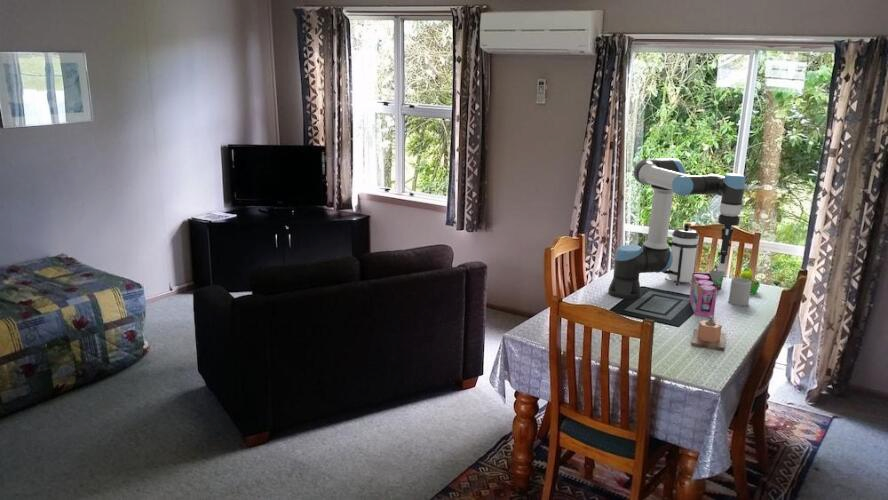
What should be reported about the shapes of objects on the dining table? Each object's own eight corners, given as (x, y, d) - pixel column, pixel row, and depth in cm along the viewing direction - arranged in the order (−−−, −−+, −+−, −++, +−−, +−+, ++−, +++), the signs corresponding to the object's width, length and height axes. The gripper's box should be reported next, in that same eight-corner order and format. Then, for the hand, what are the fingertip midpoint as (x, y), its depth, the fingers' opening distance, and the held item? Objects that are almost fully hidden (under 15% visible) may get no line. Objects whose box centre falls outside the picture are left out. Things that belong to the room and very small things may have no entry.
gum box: (714, 319, 290) (718, 289, 287) (695, 317, 292) (699, 287, 288) (706, 301, 313) (710, 273, 309) (688, 299, 315) (692, 271, 311)
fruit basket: (732, 292, 326) (735, 270, 324) (732, 287, 334) (735, 265, 332) (758, 295, 323) (761, 272, 320) (757, 290, 331) (760, 268, 328)
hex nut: (719, 343, 261) (721, 328, 259) (696, 339, 264) (698, 325, 262) (720, 336, 267) (722, 322, 266) (697, 333, 270) (699, 319, 269)
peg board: (690, 345, 261) (693, 320, 258) (693, 331, 275) (696, 308, 273) (724, 350, 257) (727, 325, 254) (724, 336, 271) (728, 312, 268)
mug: (748, 307, 306) (751, 284, 303) (727, 304, 309) (731, 281, 306) (748, 299, 316) (752, 277, 313) (729, 296, 320) (732, 274, 317)
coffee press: (668, 275, 351) (674, 219, 344) (699, 281, 342) (706, 223, 335) (657, 283, 338) (663, 225, 330) (689, 289, 329) (696, 230, 321)
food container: (720, 293, 325) (723, 273, 322) (707, 290, 328) (709, 271, 325) (725, 286, 335) (728, 267, 332) (712, 284, 338) (715, 265, 336)
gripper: (739, 221, 249) (731, 276, 255) (740, 209, 271) (733, 259, 277) (717, 219, 252) (710, 273, 258) (721, 206, 274) (713, 256, 280)
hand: (722, 266), depth 267 cm, fingers open, 13 cm apart
